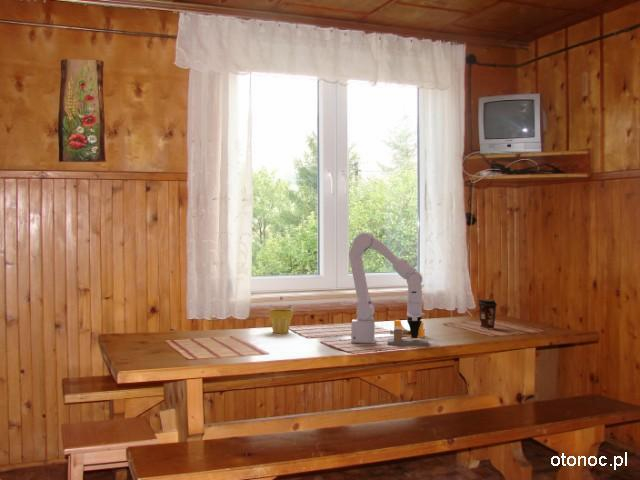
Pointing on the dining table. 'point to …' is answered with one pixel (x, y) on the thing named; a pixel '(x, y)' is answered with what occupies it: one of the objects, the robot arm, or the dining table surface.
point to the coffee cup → (487, 313)
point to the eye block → (400, 341)
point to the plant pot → (280, 319)
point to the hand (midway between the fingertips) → (414, 336)
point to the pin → (403, 332)
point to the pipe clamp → (398, 323)
